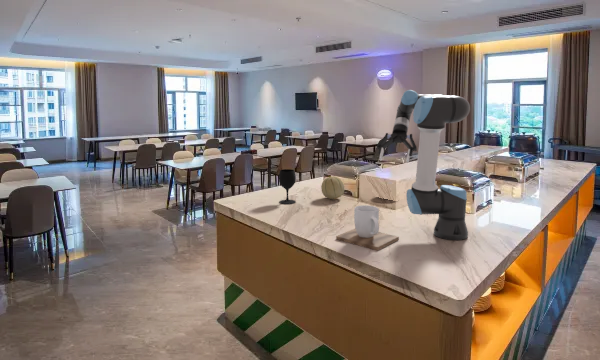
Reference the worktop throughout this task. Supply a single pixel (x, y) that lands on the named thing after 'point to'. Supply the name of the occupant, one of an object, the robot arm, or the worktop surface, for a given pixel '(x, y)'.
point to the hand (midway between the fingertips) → (393, 160)
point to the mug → (366, 220)
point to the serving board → (368, 239)
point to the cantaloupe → (332, 187)
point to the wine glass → (287, 183)
